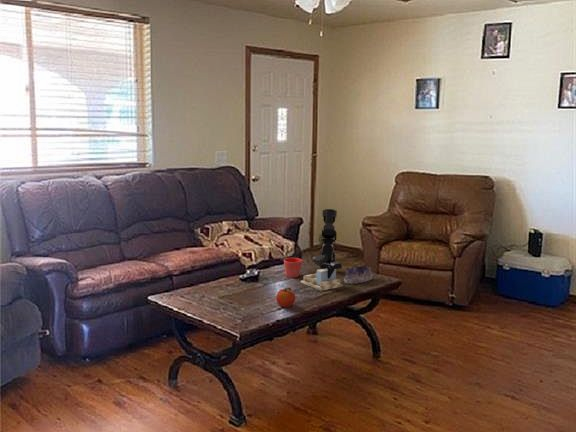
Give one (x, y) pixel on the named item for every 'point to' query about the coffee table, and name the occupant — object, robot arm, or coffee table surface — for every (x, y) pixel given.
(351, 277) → the geode
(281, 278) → the coffee table surface
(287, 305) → the fruit
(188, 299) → the coffee table surface
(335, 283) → the rack
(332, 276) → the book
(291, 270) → the flower pot
